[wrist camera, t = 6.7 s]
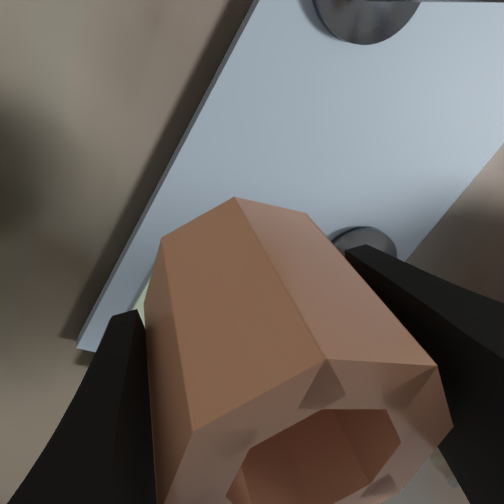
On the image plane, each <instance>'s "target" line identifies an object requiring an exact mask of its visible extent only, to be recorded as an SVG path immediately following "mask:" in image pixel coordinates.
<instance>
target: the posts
mask: <svg viewBox="0 0 504 504" xmlns="http://www.w3.org/2000/svg"><path fill="white" fill-rule="evenodd" d="M312 2H313V5H314V9H315V11H316V14H317V16H318V18H319V20H320V21H321V23H322V24H323V26H324V27H325V28H326V30H327V31H329V32H330V33H331V34H332V35H333V36H335V37H336V38H338V39H340V40H342V41H344V42H348V43H352V44H358V45H372V44H376V43H379V42H382V41H385V40H386V39H388V38H390V37H392V36H393V35H395V34H396V33H397V32H399V31H400V30H401V29H402V28H403V27H404V26H405V25H406V24H407V23H408V22H409V20H410V19H411V18H412V16H413V15H414V14H415V12H416V10H417V8H418V7H419V5H420V3H421V2H496V3H504V0H312ZM331 242H332V244H333V245H334V246H335V247H336V248H337V249H338V251H339V252H340V253H341V254H342V255H343V256H344V258H345V250H347V249H350V248H354V247H358V246H361V245H365V244H367V245H369V246H371V247H374V248H376V249H378V250H380V251H383V252H385V253H387V254H389V255H391V256H393V257H395V258H397V250H396V246H395V244H394V242H393V241H392V240H391V239H390V238H389V237H388V236H387V235H386V234H385V233H384V232H382V231H381V230H379V229H377V228H374V227H369V226H361V227H355V228H352V229H349V230H347V231H345V232H343V233H341V234H339V235H338V236H336V237H335V238H334V239H333V240H331Z"/></svg>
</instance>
